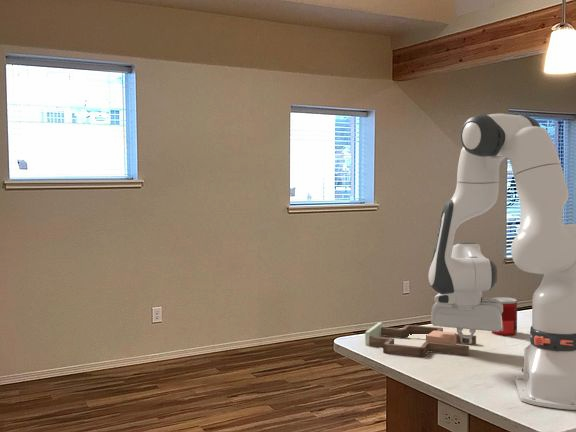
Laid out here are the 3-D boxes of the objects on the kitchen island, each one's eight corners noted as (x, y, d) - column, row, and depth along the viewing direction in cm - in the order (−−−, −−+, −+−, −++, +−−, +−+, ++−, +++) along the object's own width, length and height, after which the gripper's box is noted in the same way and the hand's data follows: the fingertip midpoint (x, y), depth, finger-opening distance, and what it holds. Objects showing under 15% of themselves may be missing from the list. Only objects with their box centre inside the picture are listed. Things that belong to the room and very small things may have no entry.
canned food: (520, 335, 198) (520, 301, 197) (495, 336, 198) (495, 302, 197) (512, 329, 205) (512, 296, 204) (487, 330, 205) (487, 297, 205)
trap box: (464, 361, 172) (464, 347, 172) (358, 349, 186) (358, 336, 185) (479, 338, 195) (479, 326, 195) (384, 330, 208) (384, 318, 208)
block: (449, 351, 183) (449, 338, 182) (426, 348, 186) (426, 335, 186) (456, 345, 189) (456, 332, 188) (433, 343, 192) (433, 330, 192)
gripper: (504, 297, 182) (504, 344, 182) (434, 292, 191) (434, 337, 192) (501, 301, 176) (501, 349, 177) (429, 296, 185) (429, 342, 186)
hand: (466, 343), depth 184 cm, fingers closed
